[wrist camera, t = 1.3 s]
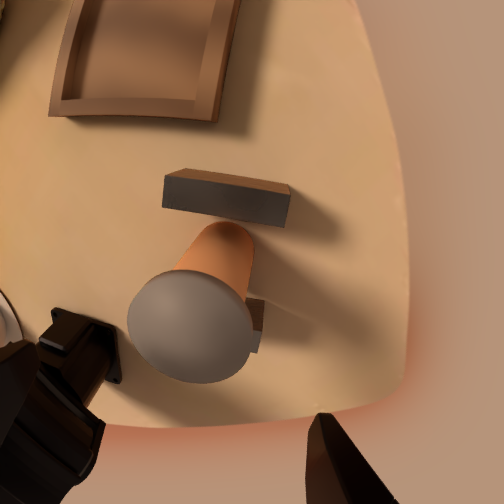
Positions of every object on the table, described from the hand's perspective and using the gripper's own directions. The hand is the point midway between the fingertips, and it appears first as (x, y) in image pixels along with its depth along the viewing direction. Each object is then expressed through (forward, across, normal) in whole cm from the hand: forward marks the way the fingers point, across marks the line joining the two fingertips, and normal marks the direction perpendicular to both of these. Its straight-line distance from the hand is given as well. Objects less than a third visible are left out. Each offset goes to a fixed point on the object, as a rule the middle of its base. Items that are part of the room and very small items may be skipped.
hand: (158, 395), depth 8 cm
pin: (+12, 0, 0) cm, 12 cm away
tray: (+12, +7, -13) cm, 19 cm away
